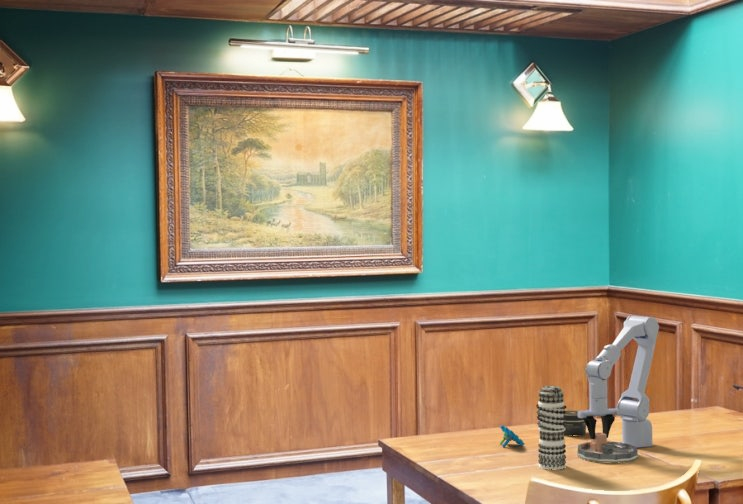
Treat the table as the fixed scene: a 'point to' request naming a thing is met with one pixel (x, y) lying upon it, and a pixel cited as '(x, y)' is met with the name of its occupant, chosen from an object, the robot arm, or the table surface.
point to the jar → (574, 424)
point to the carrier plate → (616, 451)
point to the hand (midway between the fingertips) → (599, 438)
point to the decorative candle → (551, 428)
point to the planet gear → (598, 441)
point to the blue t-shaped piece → (510, 437)
